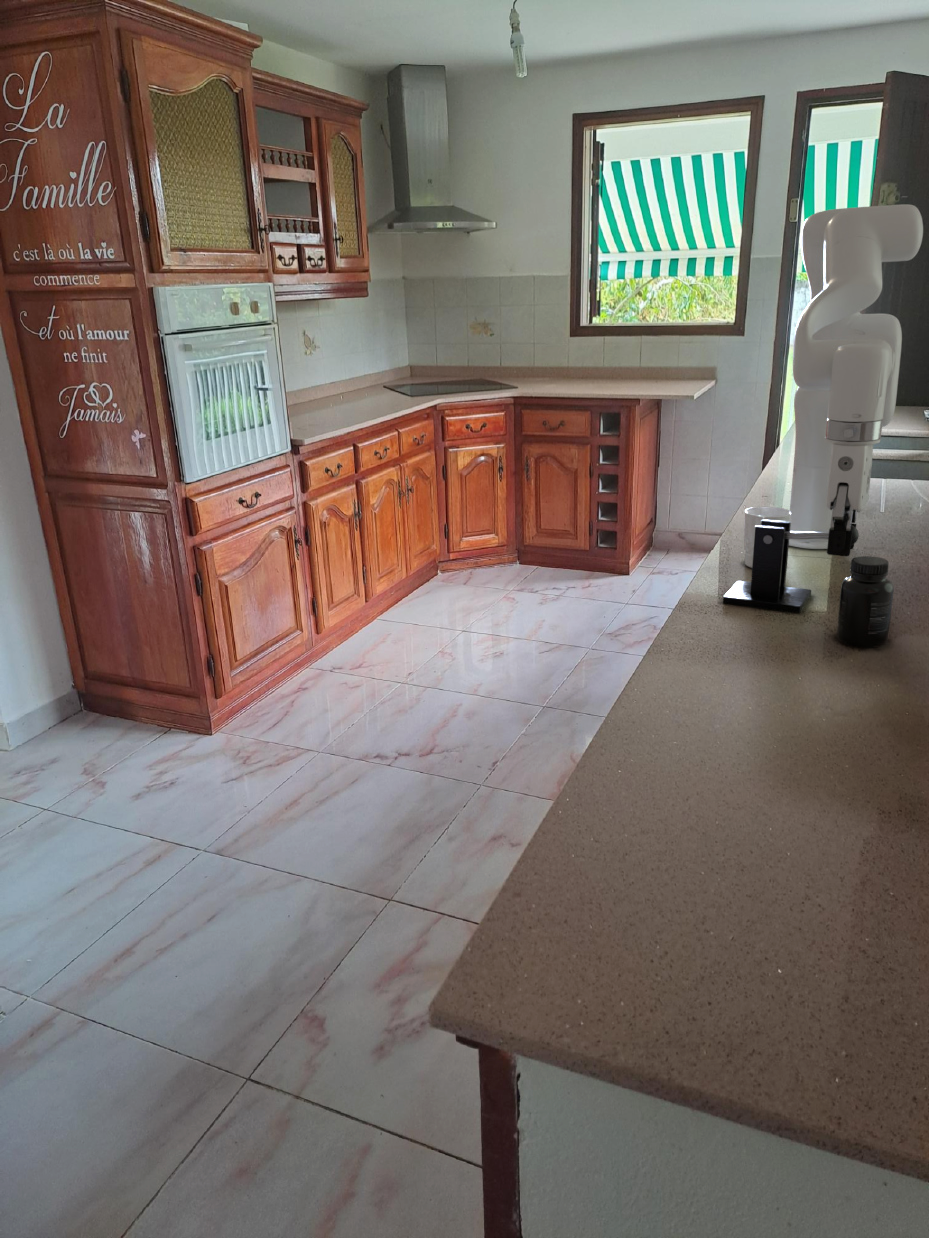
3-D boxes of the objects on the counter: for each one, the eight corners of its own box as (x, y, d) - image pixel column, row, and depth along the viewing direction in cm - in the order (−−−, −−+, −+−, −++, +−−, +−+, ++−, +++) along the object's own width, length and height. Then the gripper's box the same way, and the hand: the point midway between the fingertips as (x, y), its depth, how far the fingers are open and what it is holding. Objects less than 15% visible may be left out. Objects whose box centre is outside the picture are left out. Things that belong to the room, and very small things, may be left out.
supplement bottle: (885, 633, 129) (895, 554, 124) (889, 651, 123) (900, 569, 118) (834, 629, 131) (843, 552, 127) (836, 646, 125) (845, 566, 121)
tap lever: (860, 543, 136) (860, 521, 135) (856, 549, 133) (856, 527, 132) (766, 542, 143) (765, 522, 142) (760, 548, 140) (760, 527, 139)
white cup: (789, 571, 157) (793, 517, 154) (743, 570, 159) (747, 516, 155) (783, 558, 165) (787, 506, 161) (739, 558, 166) (743, 506, 163)
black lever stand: (810, 596, 145) (818, 520, 140) (799, 613, 138) (807, 534, 133) (737, 587, 151) (742, 514, 146) (722, 603, 144) (727, 527, 139)
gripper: (874, 441, 121) (859, 569, 127) (887, 424, 134) (873, 540, 141) (816, 439, 125) (804, 563, 131) (835, 422, 138) (823, 536, 144)
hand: (840, 550), depth 136 cm, fingers closed on tap lever, 3 cm apart
